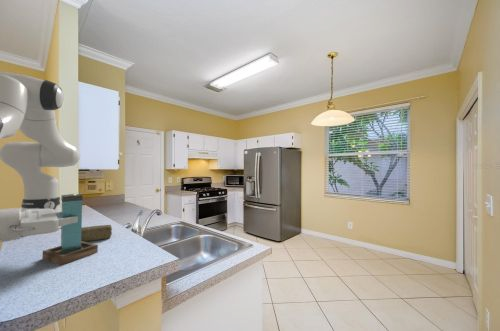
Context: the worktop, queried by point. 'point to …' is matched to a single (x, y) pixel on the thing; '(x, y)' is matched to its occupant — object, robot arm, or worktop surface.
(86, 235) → the stone block
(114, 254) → the worktop surface
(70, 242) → the teal upright block
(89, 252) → the stand
